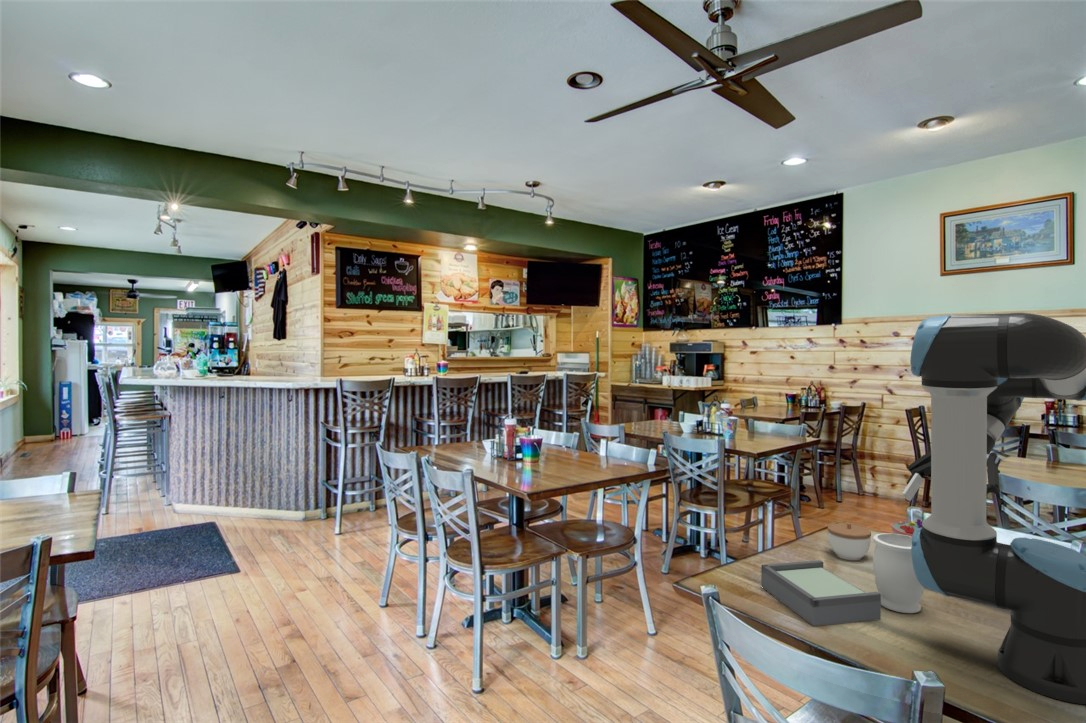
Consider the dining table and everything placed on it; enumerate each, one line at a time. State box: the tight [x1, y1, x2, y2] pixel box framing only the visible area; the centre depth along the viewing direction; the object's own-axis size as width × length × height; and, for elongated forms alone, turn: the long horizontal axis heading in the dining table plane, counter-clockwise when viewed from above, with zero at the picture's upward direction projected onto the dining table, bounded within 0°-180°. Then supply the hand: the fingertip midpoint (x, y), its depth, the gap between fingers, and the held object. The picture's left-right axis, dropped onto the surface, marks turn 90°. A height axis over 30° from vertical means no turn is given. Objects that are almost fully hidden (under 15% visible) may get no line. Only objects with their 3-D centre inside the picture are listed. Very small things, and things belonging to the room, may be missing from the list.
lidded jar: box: [827, 522, 872, 561], centre depth 160 cm, size 11×11×9 cm
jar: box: [872, 532, 925, 614], centre depth 130 cm, size 11×10×15 cm
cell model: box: [890, 518, 923, 537], centre depth 156 cm, size 17×20×11 cm
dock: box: [760, 559, 882, 627], centre depth 132 cm, size 20×16×6 cm
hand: (933, 504), depth 133 cm, fingers open, 13 cm apart
